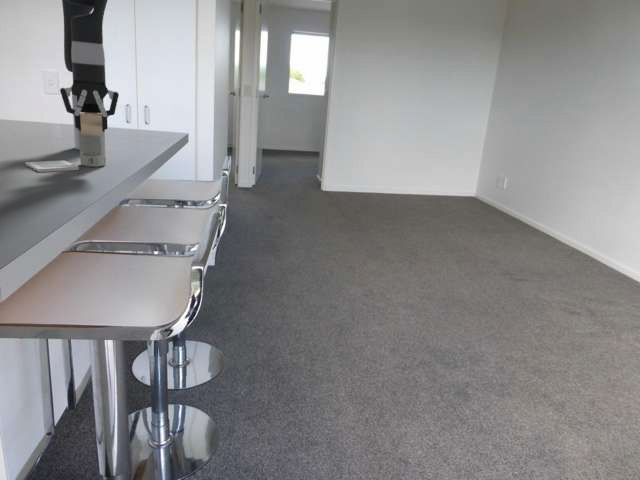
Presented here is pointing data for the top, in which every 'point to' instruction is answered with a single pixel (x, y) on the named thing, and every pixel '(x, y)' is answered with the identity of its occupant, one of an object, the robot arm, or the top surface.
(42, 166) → the reading tile
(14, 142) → the top surface
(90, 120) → the letter cube
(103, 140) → the tall grey carton
